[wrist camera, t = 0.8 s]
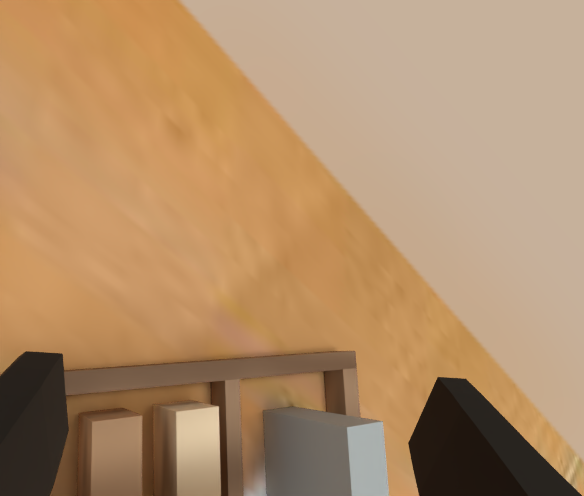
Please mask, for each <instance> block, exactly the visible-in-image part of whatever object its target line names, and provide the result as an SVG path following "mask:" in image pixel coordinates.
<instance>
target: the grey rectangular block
mask: <svg viewBox="0 0 584 496" xmlns="http://www.w3.org/2000/svg"><path fill="white" fill-rule="evenodd" d="M263 422H264V446H265V470H266V494H267V496H389V489H388V478H387V466H386V454H385V442H384V431H383V421H378V420H372V419H366V418H360V417H354V416H348V415H341V414H335V413H329V412H323V411H317V410H311V409H305V408H299V407H286V408H278V409H271V410H263Z"/></svg>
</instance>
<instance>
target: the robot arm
mask: <svg viewBox="0 0 584 496" xmlns="http://www.w3.org/2000/svg"><path fill="white" fill-rule="evenodd" d="M68 431H69V429H68V417H67V404H66V392H65V379H64V367H63V354H59V353H43V352H27V351H26V352H25V353H23V354H22V355H20V356H19V357H18V358H17V359H16V360H15V361H14V362H13V363H12V364H11V365H10V366H9V367H8V368H7V369H6V370H5V371H4V372H3V373H2V374H1V376H0V496H50V493H51V490H52V488H53V485H54V481H55V478H56V474H57V471H58V467H59V464H60V460H61V457H62V453H63V449H64V445H65V442H66V438H67V434H68ZM408 444H409V449H410V454H411V459H412V464H413V470H414V474H415V479H416V483H417V488H418V492H419V496H582V495H581V494H580V493H579V492H578V491H577V490H576V489H575V488H574V487H573V486H572V485H570V484H569V483H568V482H567V481H566V480H565V479H564V478H563V477H562V476H561V475H560V474H559V473H558V472H557V471H556V470H555V469H554V468H553V467H552V466H551V465H550V464H549V463H548V462H547V461H546V460H545V459H544V458H543V457H542V456H541V455H540V454H539V453H538V452H537V451H536V450H535V449H534V448H533V447H532V446H531V445H530V444H529V443H528V442H527V441H526V440H525V439H524V438H523V436H522V435H521V434H520V433H519V432H518V431H517V430H516V429H515V428H514V427H513V426H512V425H511V424H510V423H509V422H508V421H507V420H506V419H505V418H504V417H503V416H502V415H501V414H500V413H499V412H498V411H497V410H496V409H495V408H494V407H493V406H492V404H491V403H490V402H489V401H488V400H487V399H486V398H485V397H484V396H483V395H482V394H481V393H480V392H479V391H478V390H477V389H476V388H475V387H474V386H473V385H472V384H471V383H469V382H468V381H467V380H466V379H460V378H444V377H438V378H437V380H436V382H435V385H434V387H433V389H432V391H431V394H430V396H429V398H428V400H427V403H426V405H425V407H424V409H423V412H422V414H421V416H420V418H419V421H418V423H417V425H416V427H415V430H414V432H413V434H412V436H411V439H410V441H409V443H408Z"/></svg>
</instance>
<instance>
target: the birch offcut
mask: <svg viewBox="0 0 584 496" xmlns="http://www.w3.org/2000/svg"><path fill="white" fill-rule="evenodd" d="M153 463H154V496H221V474H220V435H219V406H215V405H210V404H206V403H201V402H197V401H192V400H189V401H180V402H171V403H163V404H154V405H153Z"/></svg>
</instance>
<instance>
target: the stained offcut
mask: <svg viewBox="0 0 584 496" xmlns="http://www.w3.org/2000/svg"><path fill="white" fill-rule="evenodd" d="M77 496H142V415H139V414H137V413H134V412H132V411H129V410H127V409H124V408H118V409H109V410H100V411H91V412H82V413H79V435H78V475H77Z"/></svg>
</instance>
